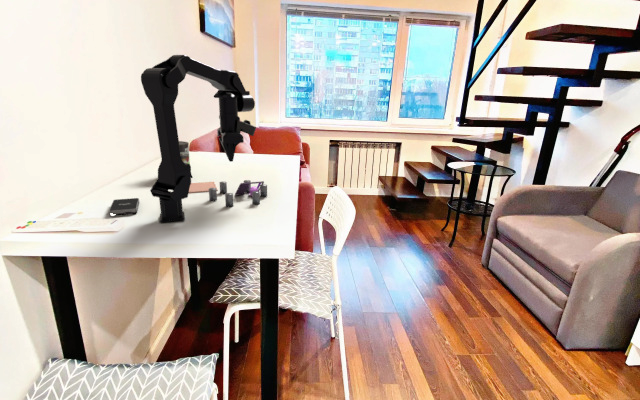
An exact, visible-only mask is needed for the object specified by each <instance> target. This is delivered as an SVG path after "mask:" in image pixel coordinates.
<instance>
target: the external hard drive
mask: <svg viewBox="0 0 640 400" xmlns="http://www.w3.org/2000/svg"><path fill="white" fill-rule="evenodd" d="M139 206H140V198H139V197H134V198H133V197H132V198H121V199H119V198H118V199H117V198H116V199H113V200H112V203H111V205H110V207H109V209H108V214H109V213H113V214H116V215H122V216H129V215H128V214H133V215H137V214H136V213H138V209H139Z"/></svg>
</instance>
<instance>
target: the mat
mask: <svg viewBox="0 0 640 400" xmlns="http://www.w3.org/2000/svg"><path fill="white" fill-rule="evenodd" d="M209 188H216V190H217V192H218V188H217V186H216V183H215V181H209V182H208V181H203V182H191V185H190V188H189V193H188V194H196V193H197V194H198V193H209Z"/></svg>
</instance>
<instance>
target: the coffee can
mask: <svg viewBox="0 0 640 400" xmlns="http://www.w3.org/2000/svg"><path fill="white" fill-rule="evenodd" d="M179 146H180V153H181V159H182V160H183V162H184V163H187V164H190V160H191V159H190V149H189V148H190V146H189V142H188V141H182V140H181V141H180V140H179ZM190 165H191V164H190Z"/></svg>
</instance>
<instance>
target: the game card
mask: <svg viewBox="0 0 640 400" xmlns="http://www.w3.org/2000/svg"><path fill="white" fill-rule="evenodd" d="M249 184H251V185H253V184H254V185H255V184H257V186H251V188H250V191H247V192H245V191H246V189H247V188H248V186H249ZM260 185H265V181H264V180H263V181H251V182H249V183H244V182H241V183H240V184H239V185H238V186H237V190H236V191H235V194H234V196H240V195H246V194H249V196H251V197H252V192H253V191H259V192H260Z"/></svg>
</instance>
